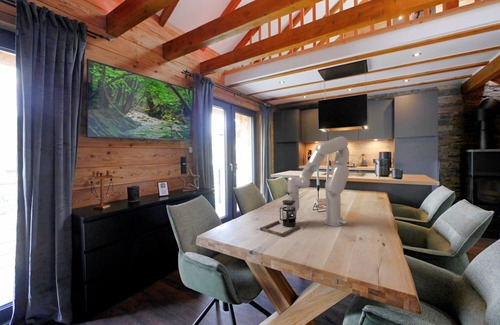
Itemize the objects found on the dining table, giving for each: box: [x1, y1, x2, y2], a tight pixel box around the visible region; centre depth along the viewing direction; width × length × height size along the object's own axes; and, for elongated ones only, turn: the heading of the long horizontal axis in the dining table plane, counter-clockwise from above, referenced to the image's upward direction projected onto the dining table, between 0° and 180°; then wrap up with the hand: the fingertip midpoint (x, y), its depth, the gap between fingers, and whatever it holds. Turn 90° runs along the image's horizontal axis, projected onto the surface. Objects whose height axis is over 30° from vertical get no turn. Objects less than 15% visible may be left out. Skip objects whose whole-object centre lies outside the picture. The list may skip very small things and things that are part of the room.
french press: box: [279, 191, 297, 228], centre depth 149 cm, size 12×9×23 cm
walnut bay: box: [259, 220, 301, 238], centre depth 142 cm, size 18×20×2 cm
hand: (293, 219), depth 154 cm, fingers closed
